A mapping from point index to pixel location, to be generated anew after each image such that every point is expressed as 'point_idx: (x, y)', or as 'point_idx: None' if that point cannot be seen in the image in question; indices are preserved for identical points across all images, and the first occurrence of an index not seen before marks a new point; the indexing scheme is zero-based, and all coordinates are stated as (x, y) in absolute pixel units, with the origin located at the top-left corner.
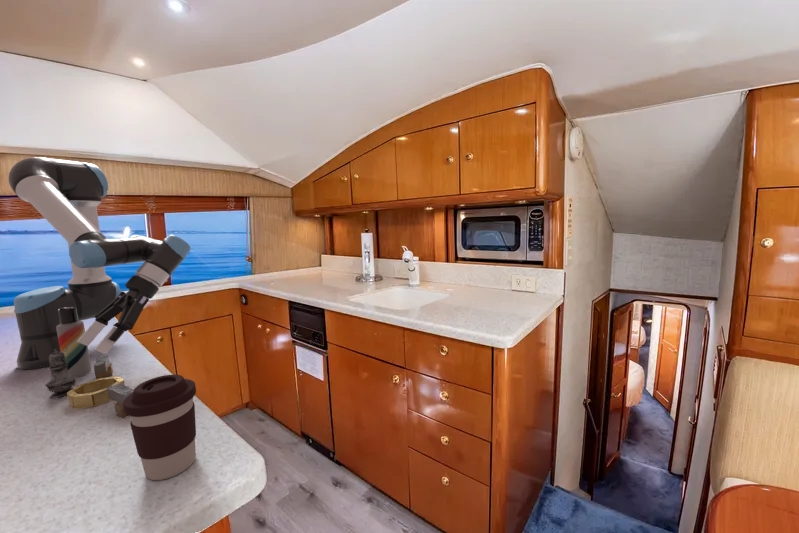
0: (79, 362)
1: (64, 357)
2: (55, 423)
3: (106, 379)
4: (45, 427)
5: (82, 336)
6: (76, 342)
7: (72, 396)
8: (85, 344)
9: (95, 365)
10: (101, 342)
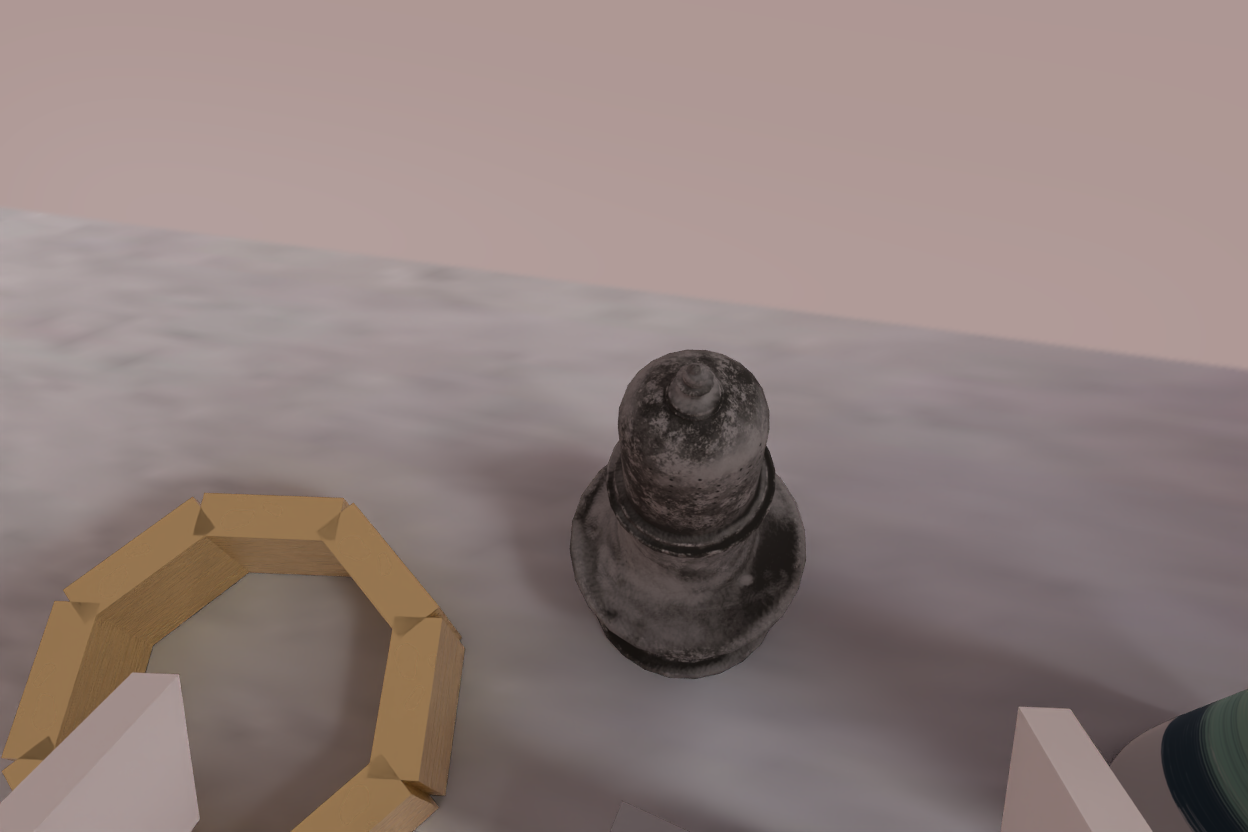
0: (1169, 821)
1: (652, 491)
2: (142, 410)
3: (311, 814)
4: (151, 368)
5: (1063, 781)
6: None
7: (203, 499)
8: (1003, 821)
9: (628, 824)
10: (51, 757)
